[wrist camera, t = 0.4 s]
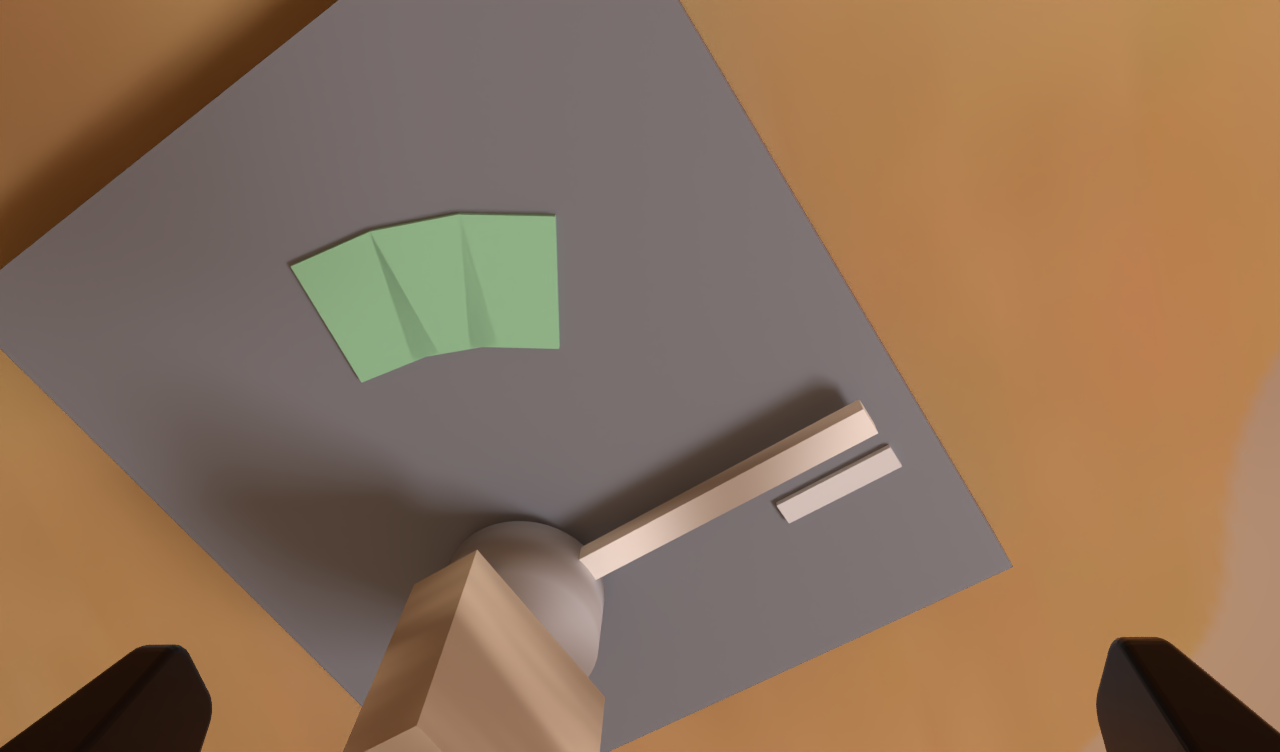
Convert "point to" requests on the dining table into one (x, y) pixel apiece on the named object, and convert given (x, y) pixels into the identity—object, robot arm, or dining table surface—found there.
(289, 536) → the tuner dial board
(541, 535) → the tuning peg
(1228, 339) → the dining table surface
